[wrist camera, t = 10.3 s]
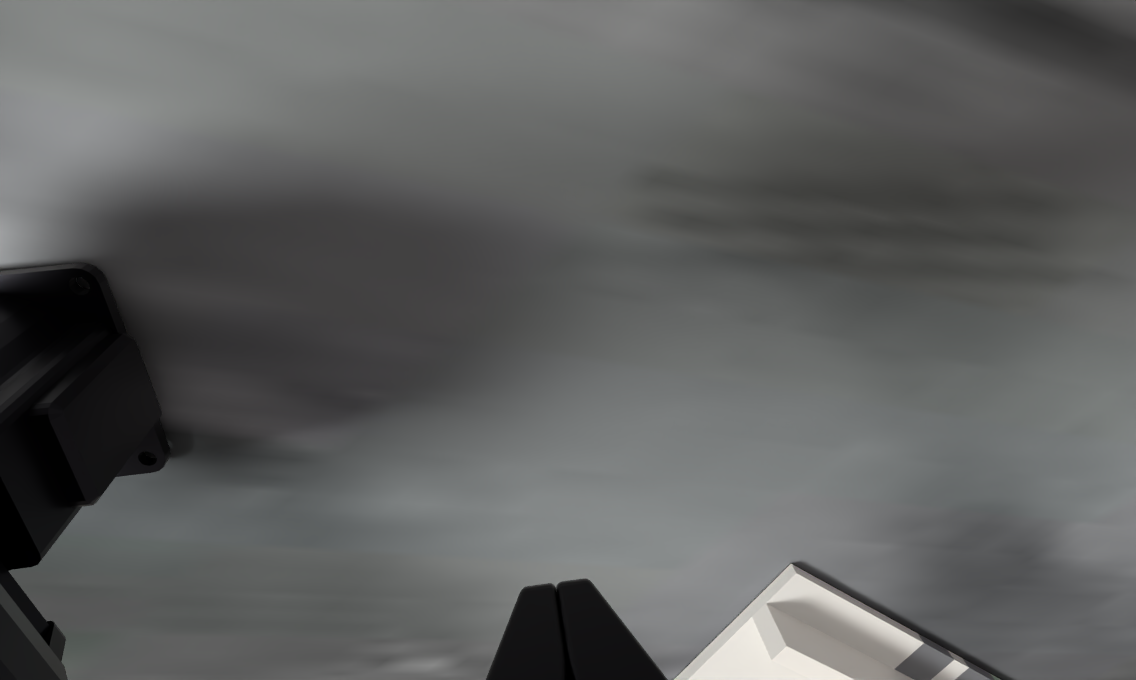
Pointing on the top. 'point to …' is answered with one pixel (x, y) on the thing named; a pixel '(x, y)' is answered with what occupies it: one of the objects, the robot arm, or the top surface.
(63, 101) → the top surface
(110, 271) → the top surface
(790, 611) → the track
